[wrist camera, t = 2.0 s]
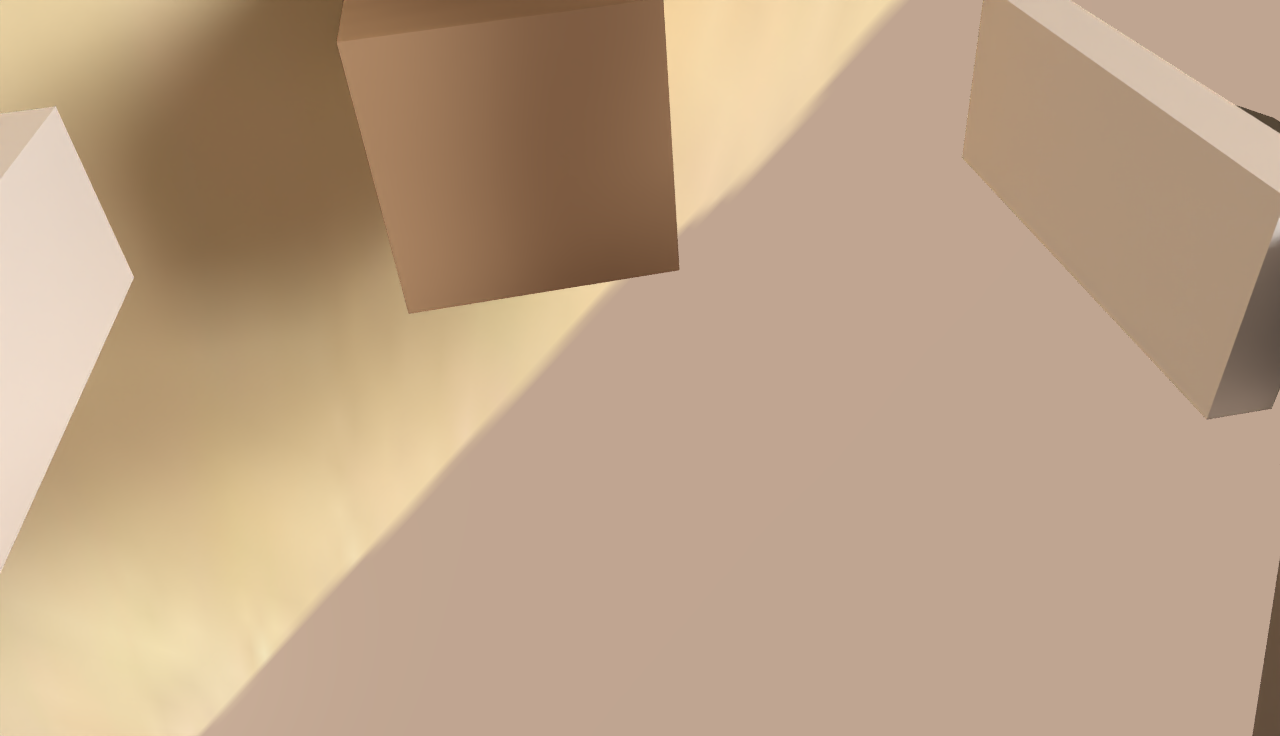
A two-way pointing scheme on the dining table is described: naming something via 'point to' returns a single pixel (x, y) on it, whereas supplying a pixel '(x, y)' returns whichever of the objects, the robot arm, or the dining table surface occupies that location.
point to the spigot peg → (515, 142)
